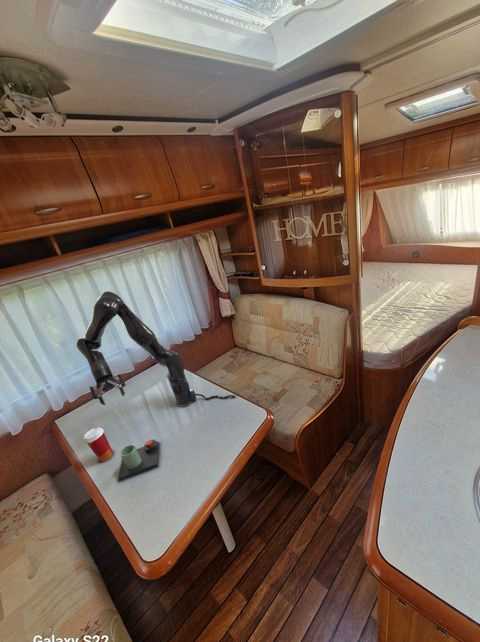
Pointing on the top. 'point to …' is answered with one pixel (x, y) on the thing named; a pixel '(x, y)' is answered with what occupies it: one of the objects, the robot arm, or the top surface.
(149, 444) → the tare button
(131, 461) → the tumbler
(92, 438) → the coffee cup
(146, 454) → the scale
